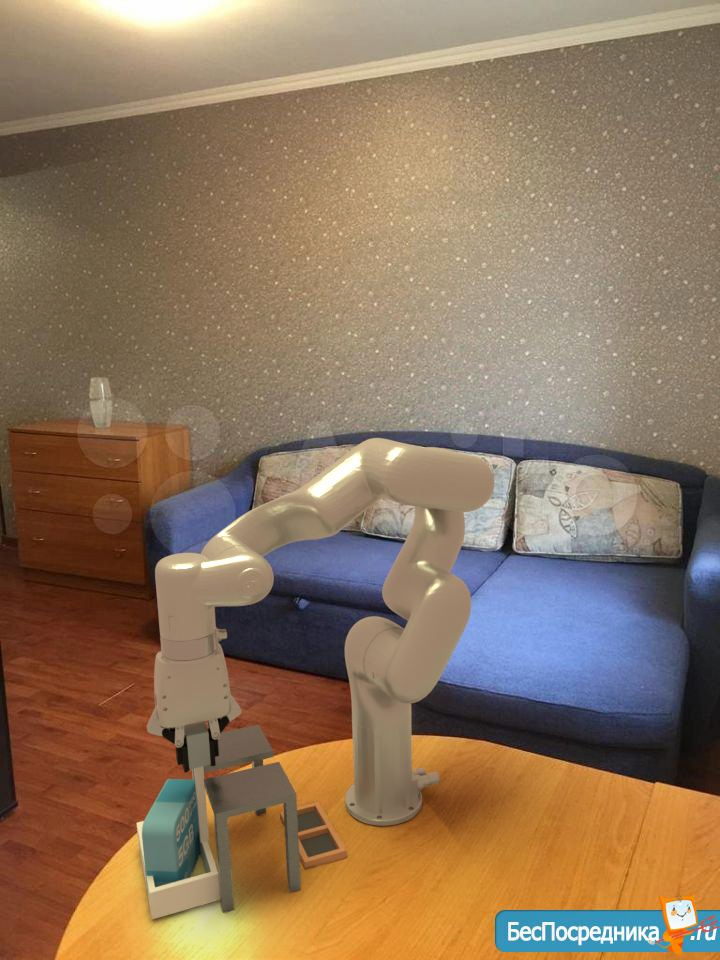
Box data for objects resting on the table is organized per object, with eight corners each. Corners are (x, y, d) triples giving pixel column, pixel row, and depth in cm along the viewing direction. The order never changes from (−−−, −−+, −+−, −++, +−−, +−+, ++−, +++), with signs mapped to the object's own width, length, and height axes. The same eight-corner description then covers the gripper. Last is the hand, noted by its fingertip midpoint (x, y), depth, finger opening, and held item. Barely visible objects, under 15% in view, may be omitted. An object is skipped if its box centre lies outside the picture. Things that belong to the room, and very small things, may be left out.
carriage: (205, 828, 122) (196, 702, 118) (228, 897, 107) (217, 755, 103) (138, 846, 118) (126, 716, 114) (152, 919, 104) (138, 773, 99)
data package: (179, 904, 106) (173, 826, 104) (147, 903, 107) (140, 825, 104) (204, 846, 118) (198, 774, 116) (175, 845, 119) (169, 774, 116)
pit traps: (318, 808, 127) (318, 801, 127) (346, 857, 115) (346, 850, 115) (280, 818, 125) (279, 811, 124) (305, 869, 113) (304, 862, 113)
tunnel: (263, 808, 127) (258, 724, 124) (301, 889, 109) (296, 793, 106) (196, 825, 123) (189, 739, 120) (223, 913, 105) (215, 813, 102)
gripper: (241, 624, 113) (248, 739, 117) (124, 643, 108) (136, 764, 111) (254, 643, 107) (261, 764, 110) (130, 665, 101) (142, 792, 104)
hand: (198, 763), depth 111 cm, fingers closed on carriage, 3 cm apart
